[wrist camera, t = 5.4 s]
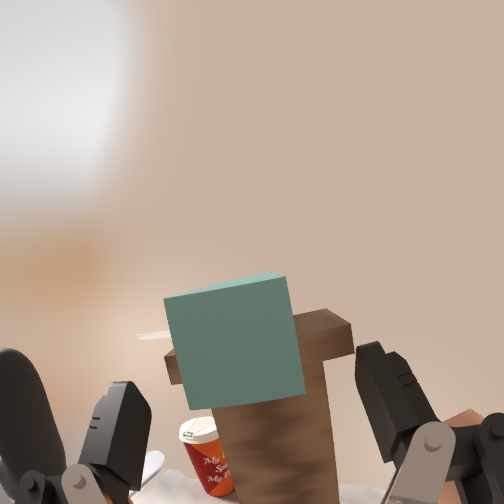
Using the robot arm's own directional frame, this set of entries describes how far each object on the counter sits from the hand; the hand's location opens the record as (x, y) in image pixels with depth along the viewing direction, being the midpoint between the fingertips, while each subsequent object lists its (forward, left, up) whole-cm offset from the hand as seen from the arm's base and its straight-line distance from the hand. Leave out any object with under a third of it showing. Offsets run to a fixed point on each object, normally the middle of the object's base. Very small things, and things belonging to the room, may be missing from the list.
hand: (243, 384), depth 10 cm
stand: (0, +12, -33) cm, 35 cm away
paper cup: (-13, +33, -33) cm, 49 cm away
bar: (0, +11, -1) cm, 12 cm away
